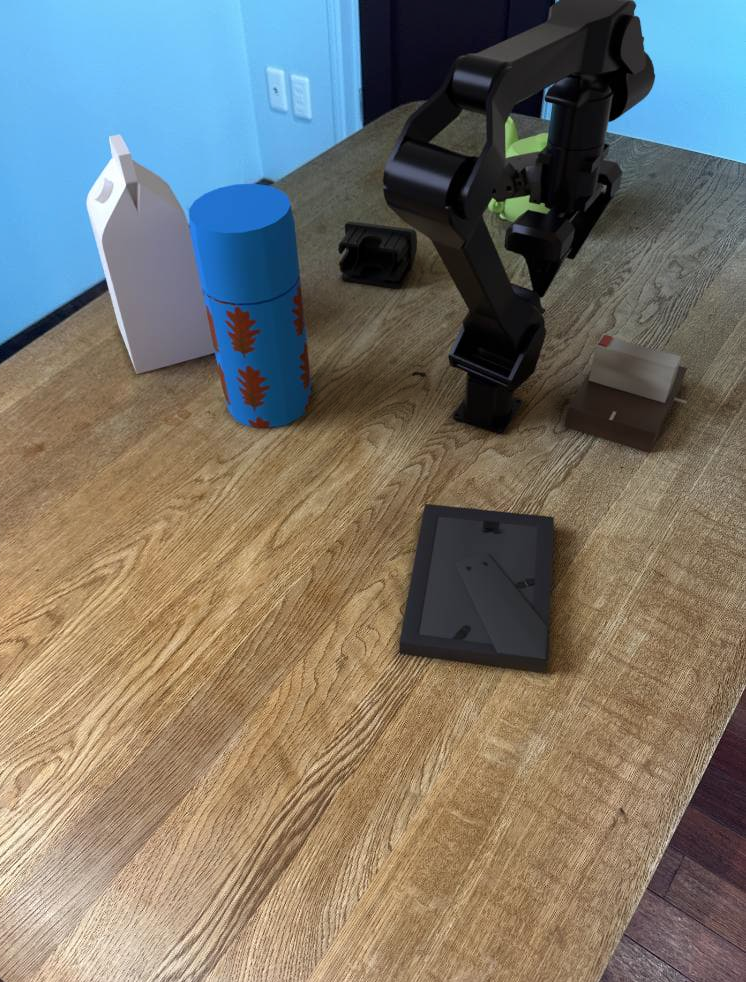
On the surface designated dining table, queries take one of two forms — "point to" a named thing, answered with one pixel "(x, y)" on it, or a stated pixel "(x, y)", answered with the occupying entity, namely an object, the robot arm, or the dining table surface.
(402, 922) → the dining table surface
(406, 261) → the end cap
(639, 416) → the dark brown pegged box
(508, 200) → the teapot
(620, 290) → the dining table surface
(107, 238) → the milk
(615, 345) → the light gray block
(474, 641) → the picture frame
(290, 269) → the thermos
